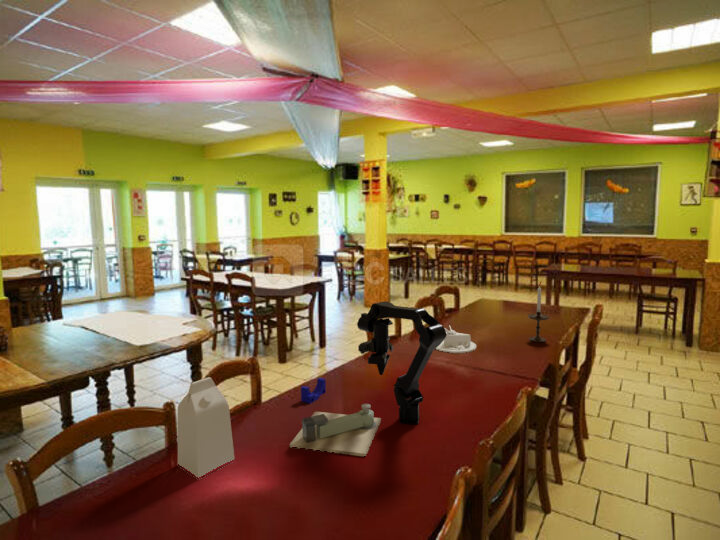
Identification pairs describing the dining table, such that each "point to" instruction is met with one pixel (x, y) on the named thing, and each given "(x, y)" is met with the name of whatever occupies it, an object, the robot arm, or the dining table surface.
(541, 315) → the candlestick
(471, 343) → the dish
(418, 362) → the robot arm
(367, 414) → the latch bar
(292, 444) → the base board
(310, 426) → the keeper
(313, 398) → the cable clip
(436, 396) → the dining table surface
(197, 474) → the milk
